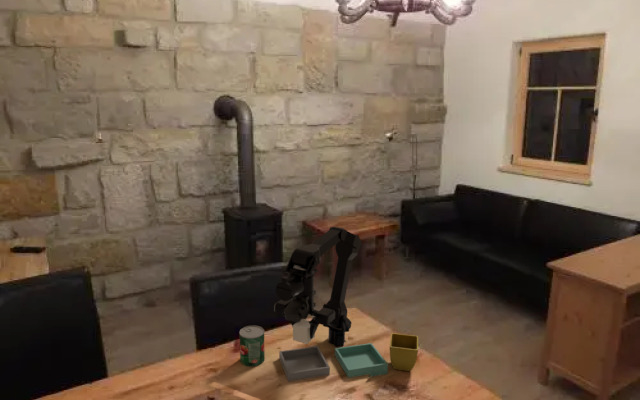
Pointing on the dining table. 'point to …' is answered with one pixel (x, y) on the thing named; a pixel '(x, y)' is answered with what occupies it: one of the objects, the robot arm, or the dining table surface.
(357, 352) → the teal bin
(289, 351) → the charcoal bin
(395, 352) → the flower pot
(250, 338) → the canned tomato
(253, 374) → the dining table surface
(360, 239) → the robot arm
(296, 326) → the stone block
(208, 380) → the dining table surface
